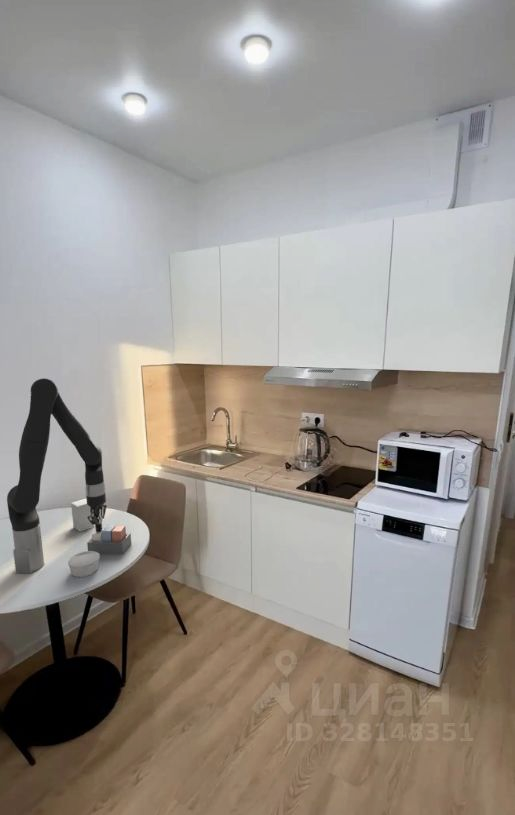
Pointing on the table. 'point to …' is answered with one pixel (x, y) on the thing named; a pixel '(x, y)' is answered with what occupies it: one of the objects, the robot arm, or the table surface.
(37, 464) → the robot arm
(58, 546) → the table surface
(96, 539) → the ivory key
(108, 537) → the slate blue key
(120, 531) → the pink block
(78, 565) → the ramekin
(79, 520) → the supplement box
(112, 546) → the dark grey tray
